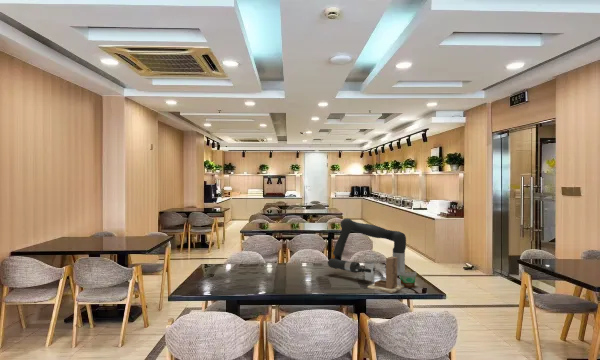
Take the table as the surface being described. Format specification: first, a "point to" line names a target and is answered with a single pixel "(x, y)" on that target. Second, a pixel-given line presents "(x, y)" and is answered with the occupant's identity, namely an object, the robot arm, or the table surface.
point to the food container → (407, 279)
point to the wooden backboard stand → (388, 278)
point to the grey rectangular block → (371, 266)
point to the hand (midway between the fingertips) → (372, 270)
